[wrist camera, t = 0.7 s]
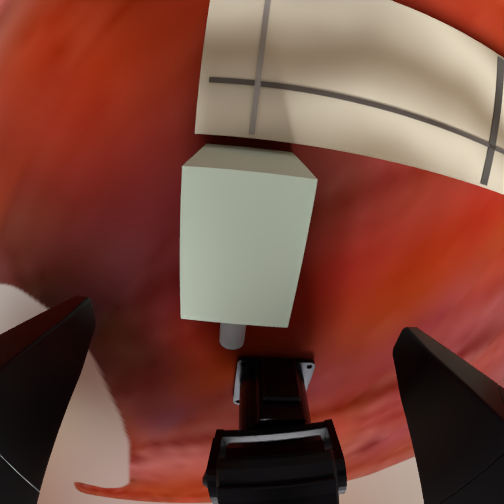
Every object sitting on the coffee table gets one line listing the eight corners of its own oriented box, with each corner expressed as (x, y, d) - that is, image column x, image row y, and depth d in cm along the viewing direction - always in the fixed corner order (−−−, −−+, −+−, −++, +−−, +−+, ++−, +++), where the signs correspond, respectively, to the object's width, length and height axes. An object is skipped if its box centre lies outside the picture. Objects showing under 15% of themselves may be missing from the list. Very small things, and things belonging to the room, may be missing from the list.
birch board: (525, 201, 18) (537, 207, 17) (199, 131, 17) (194, 133, 15) (543, 96, 14) (555, 98, 12) (218, -22, 12) (215, -33, 11)
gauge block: (269, 295, 22) (277, 369, 16) (199, 289, 22) (182, 361, 15) (292, 152, 17) (317, 179, 11) (206, 143, 17) (182, 165, 11)
